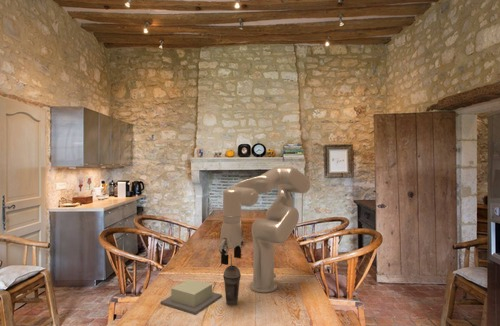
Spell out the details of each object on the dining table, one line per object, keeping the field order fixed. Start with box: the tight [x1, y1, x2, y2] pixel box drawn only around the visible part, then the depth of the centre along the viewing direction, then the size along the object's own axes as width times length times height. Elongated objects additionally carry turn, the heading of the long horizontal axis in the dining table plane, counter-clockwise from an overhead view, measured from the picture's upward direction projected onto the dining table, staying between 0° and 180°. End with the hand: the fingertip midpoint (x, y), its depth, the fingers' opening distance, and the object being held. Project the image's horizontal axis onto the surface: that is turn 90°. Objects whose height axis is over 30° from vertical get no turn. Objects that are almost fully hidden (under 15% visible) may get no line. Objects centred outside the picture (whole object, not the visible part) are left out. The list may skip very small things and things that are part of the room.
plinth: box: [160, 278, 223, 315], centre depth 137 cm, size 18×18×6 cm
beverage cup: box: [222, 254, 242, 307], centre depth 134 cm, size 7×7×20 cm
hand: (231, 260), depth 134 cm, fingers open, 9 cm apart
